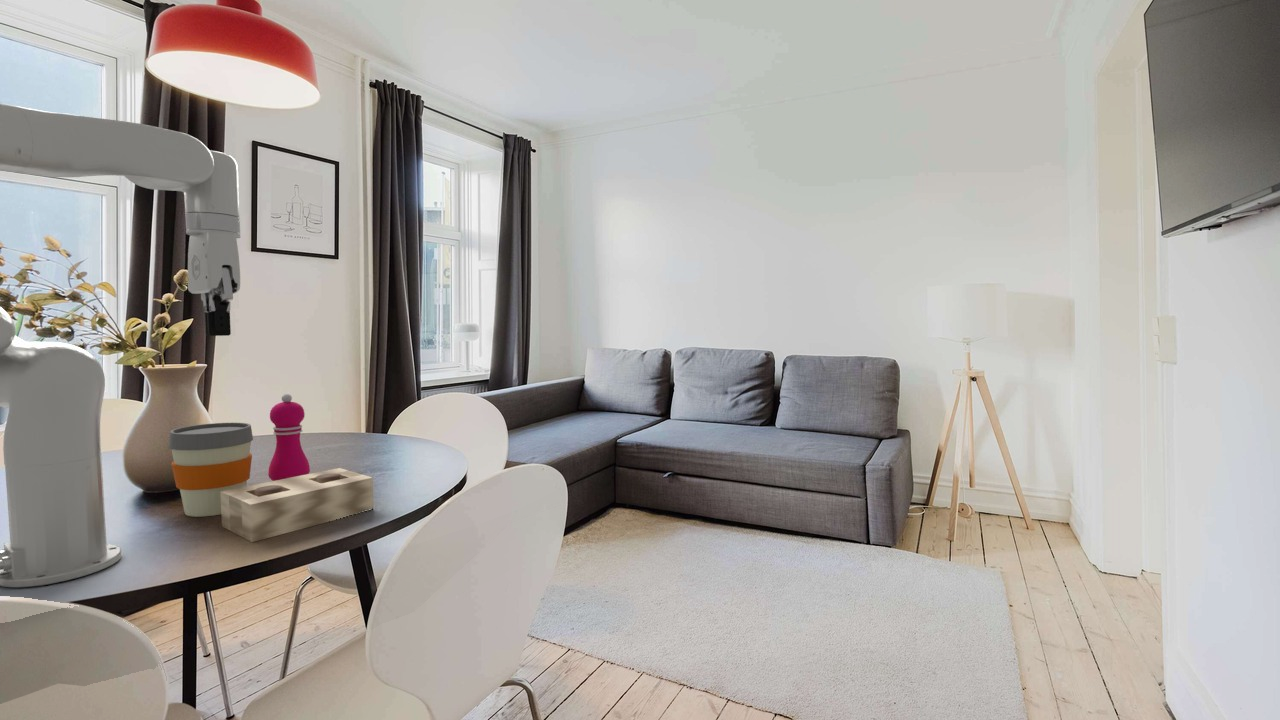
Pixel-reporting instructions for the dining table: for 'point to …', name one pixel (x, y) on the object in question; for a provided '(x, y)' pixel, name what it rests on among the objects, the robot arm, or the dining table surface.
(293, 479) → the oak socket block
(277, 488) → the near walnut peg
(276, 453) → the pepper mill
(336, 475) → the far walnut peg
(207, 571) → the dining table surface
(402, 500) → the dining table surface
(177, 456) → the reusable coffee cup
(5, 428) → the robot arm
